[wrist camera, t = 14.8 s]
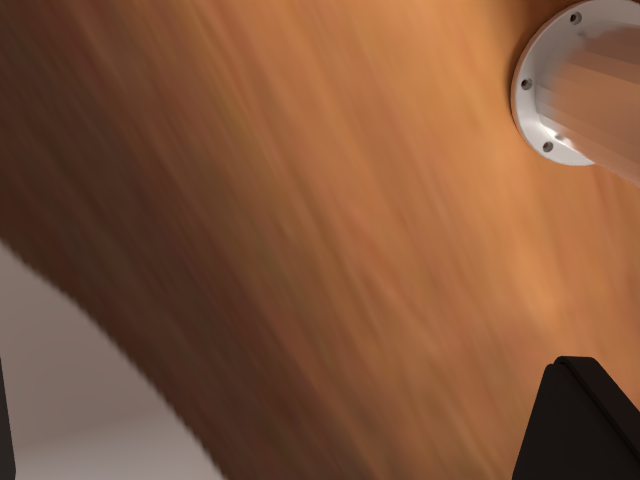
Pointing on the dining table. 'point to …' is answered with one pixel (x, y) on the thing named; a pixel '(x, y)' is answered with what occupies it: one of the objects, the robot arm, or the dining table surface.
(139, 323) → the dining table surface
